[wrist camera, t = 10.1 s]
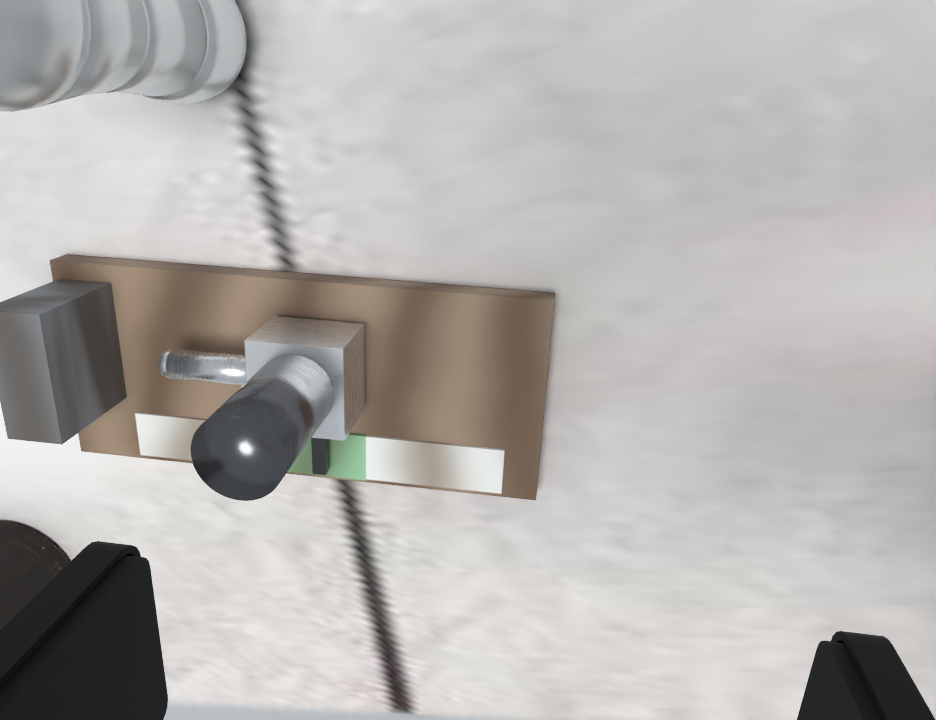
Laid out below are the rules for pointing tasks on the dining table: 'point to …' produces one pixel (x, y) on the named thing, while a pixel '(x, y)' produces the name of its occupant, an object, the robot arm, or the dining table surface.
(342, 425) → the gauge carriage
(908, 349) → the dining table surface
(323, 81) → the dining table surface
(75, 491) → the dining table surface
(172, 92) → the plastic bottle
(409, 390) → the gauge base
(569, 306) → the dining table surface
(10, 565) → the container
